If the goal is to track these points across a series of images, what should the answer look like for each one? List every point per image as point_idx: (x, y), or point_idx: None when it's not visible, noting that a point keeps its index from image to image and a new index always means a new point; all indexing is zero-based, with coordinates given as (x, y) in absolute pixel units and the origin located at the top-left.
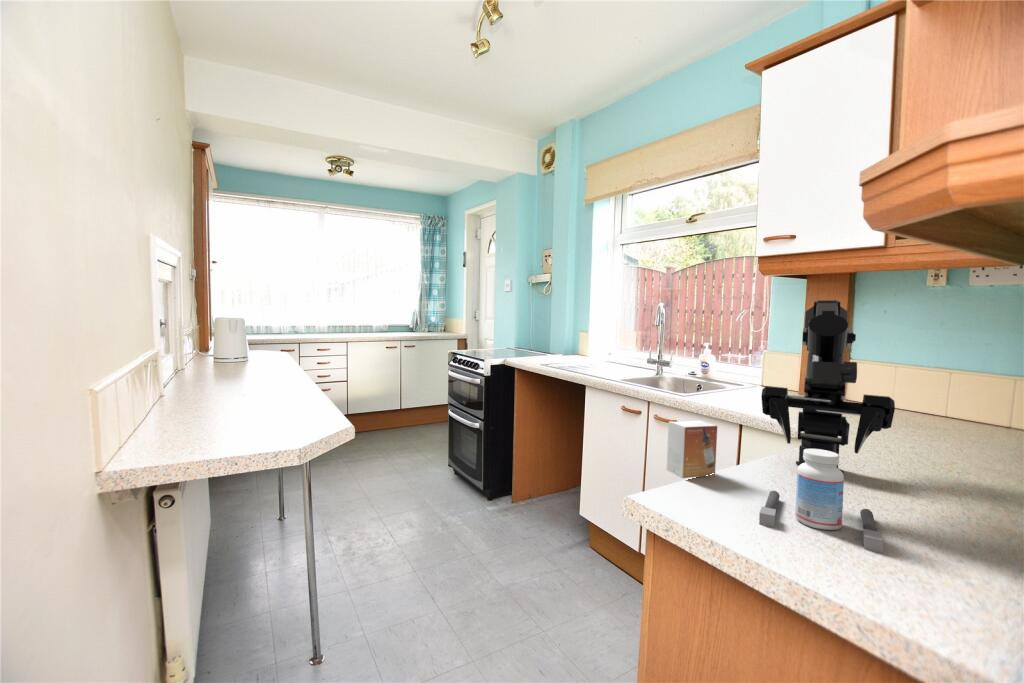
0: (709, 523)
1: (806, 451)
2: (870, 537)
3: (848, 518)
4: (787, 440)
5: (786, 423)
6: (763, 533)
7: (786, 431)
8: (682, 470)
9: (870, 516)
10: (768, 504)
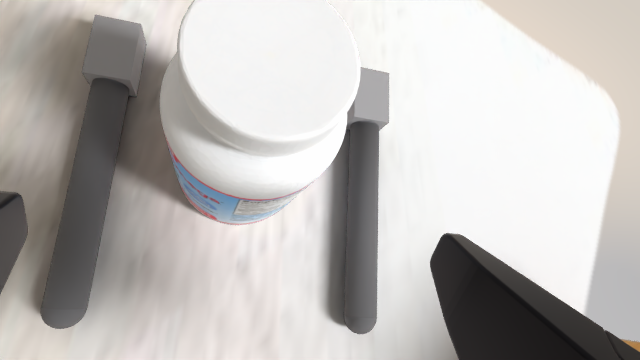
0: (463, 42)
1: (348, 39)
2: (127, 21)
3: (137, 267)
4: (456, 235)
5: (566, 314)
6: (363, 37)
7: (507, 266)
8: (630, 341)
9: (68, 225)
10: (373, 162)
